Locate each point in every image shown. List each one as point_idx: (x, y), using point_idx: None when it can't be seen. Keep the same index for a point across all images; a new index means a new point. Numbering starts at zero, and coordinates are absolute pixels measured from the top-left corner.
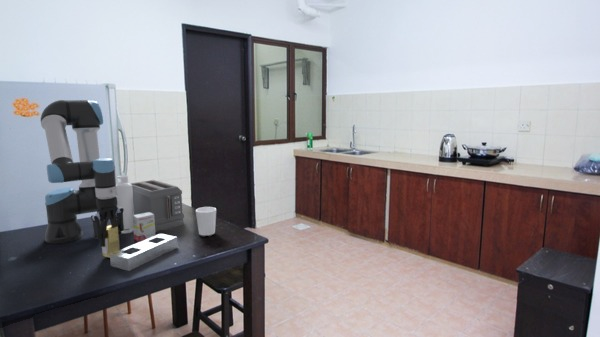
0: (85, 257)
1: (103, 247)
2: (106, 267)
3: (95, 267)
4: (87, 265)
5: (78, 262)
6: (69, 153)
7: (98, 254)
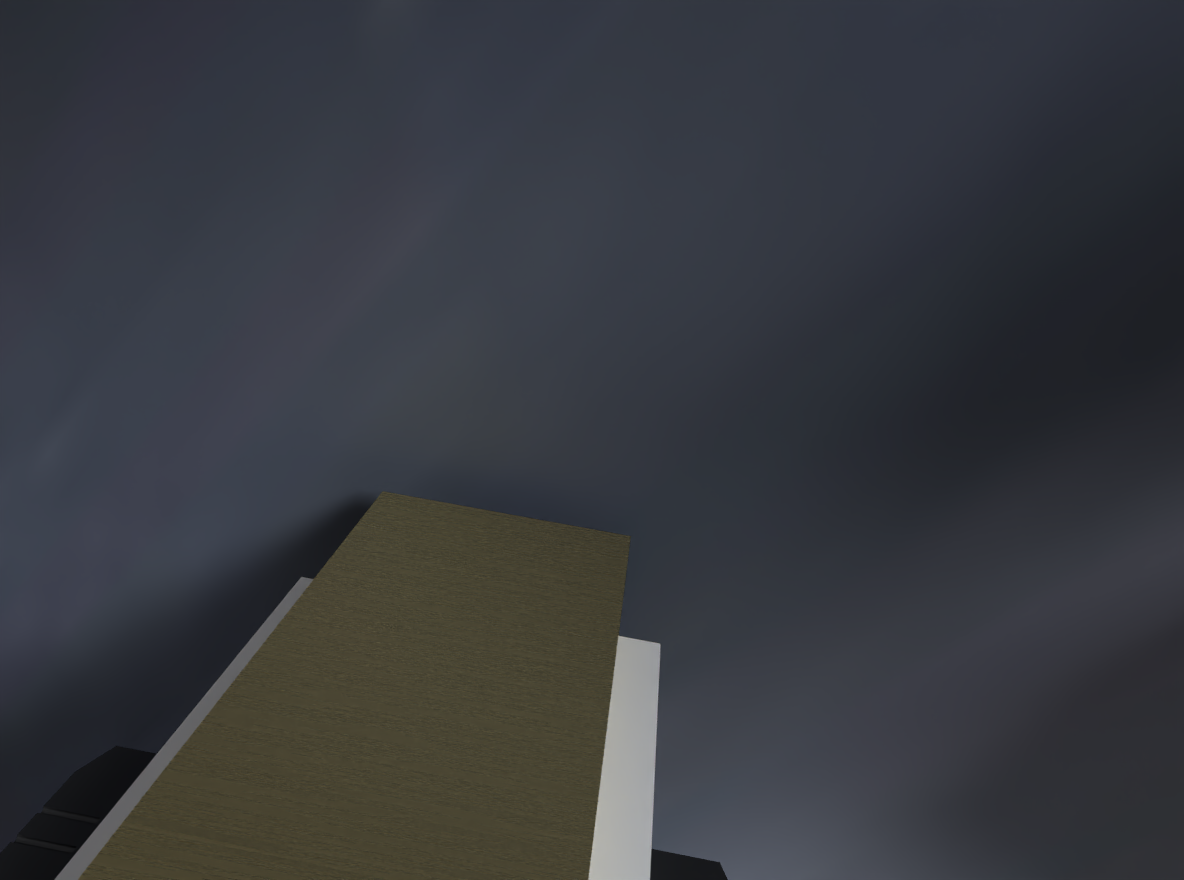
0: (260, 28)
1: None
2: None
3: (57, 629)
4: (27, 438)
5: (5, 123)
6: None
7: (521, 205)
